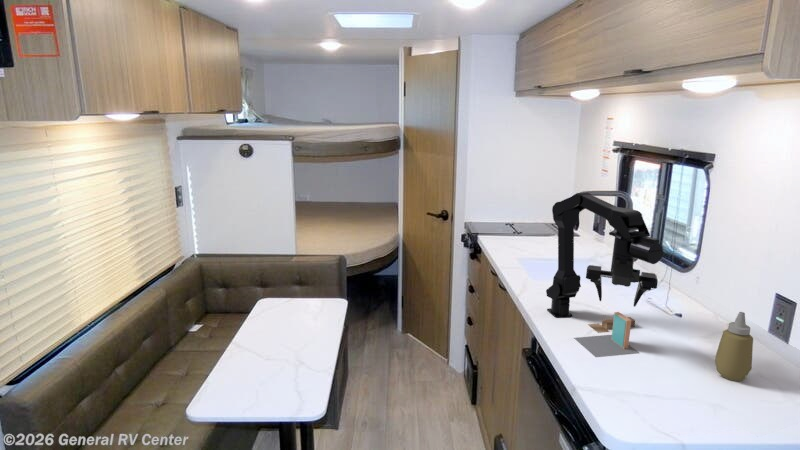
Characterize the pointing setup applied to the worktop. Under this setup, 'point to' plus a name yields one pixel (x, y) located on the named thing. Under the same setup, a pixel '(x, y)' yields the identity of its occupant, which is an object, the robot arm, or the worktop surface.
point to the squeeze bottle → (735, 350)
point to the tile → (621, 330)
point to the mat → (604, 346)
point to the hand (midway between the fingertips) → (617, 303)
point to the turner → (607, 325)
